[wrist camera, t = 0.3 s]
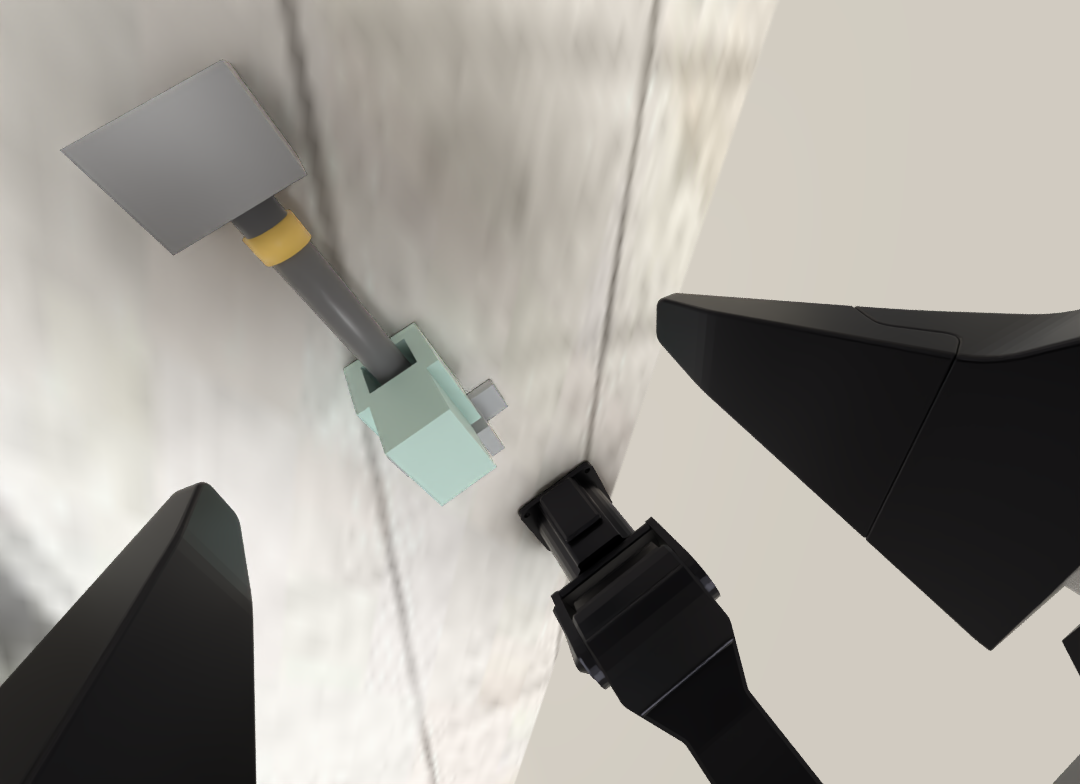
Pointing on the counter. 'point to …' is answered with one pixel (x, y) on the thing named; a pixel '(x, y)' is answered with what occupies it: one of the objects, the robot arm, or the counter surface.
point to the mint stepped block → (423, 419)
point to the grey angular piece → (237, 202)
